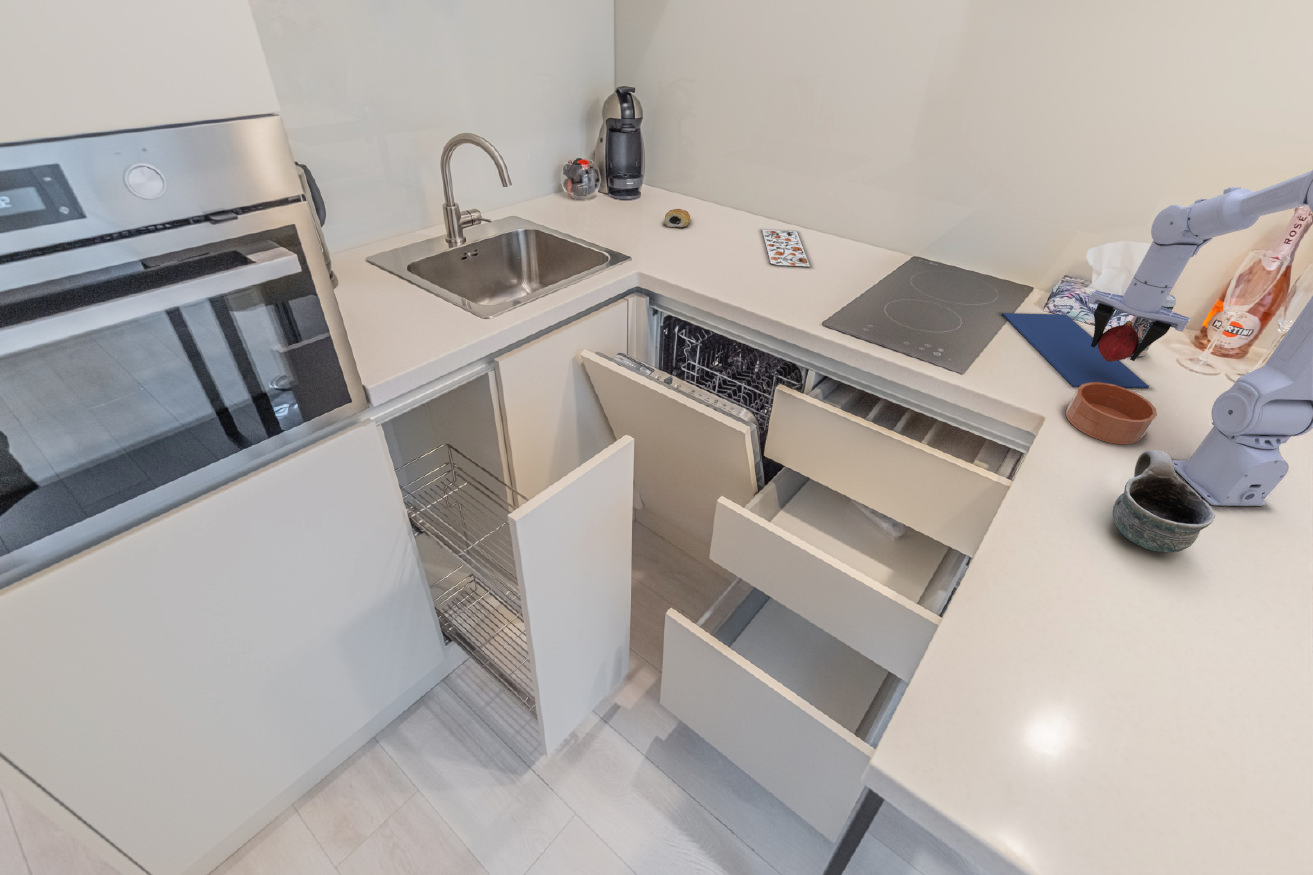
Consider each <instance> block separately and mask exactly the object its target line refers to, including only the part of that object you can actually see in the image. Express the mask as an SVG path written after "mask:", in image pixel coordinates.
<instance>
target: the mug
mask: <svg viewBox="0 0 1313 875" xmlns="http://www.w3.org/2000/svg"><path fill="white" fill-rule="evenodd" d="M1172 460H1173V459H1172V457H1171V456H1170V454H1168V453H1167V452H1165V451H1162V450H1157V449H1149V450H1146V451H1143V452H1142V453H1141V454H1140V455H1139V457H1138V458H1137V460H1136V463H1135V466H1134V472H1133V477H1132V478H1129V480H1127V481H1126V482H1125V485H1124V490H1123V492H1122V493H1121V494H1120V495H1119V496H1118V497H1117V499H1116V500H1115V502H1114V504H1113V507H1112V512H1111V514H1112V520H1113V523H1114V525H1115V526H1116V528H1117V530H1118V531H1119V532H1120V533H1121V535H1123V536H1124V537H1125V538H1126V539H1127V540H1128V541H1130V542H1132V543H1133V544H1135V545H1136V546H1138V547H1141V548H1142V549H1145V550H1148V551H1152V552H1157V553H1178V552H1182V551H1184V550H1186V549H1189V548H1190V547H1191V546H1192V545H1193V544H1194V543H1195V542H1196V540H1197V539H1198V538H1199V536H1200V532H1201V531H1202V530H1204V529H1206V528H1207V527H1209V526H1210V525H1211V524H1213V522H1214V521H1215V518H1216V513H1215V510H1214V509H1213V508H1212V506H1211V504H1210V503H1209V502H1208V501H1207V500H1204V499H1202V498H1201V495H1200V494H1199V493H1198V492H1197V491H1196V490H1195V489H1194V488H1193V487H1192V486H1191V485H1188V484H1187V483H1186V482H1185V481H1183V480H1182V479H1181V478H1179V477H1178V475H1177V473H1176V470H1175V469H1174V465H1173V461H1172Z"/></svg>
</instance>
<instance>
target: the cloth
mask: <svg viewBox="0 0 1313 875" xmlns="http://www.w3.org/2000/svg"><path fill="white" fill-rule="evenodd" d="M1002 316H1003V317H1004V319H1006V320H1007V322H1009V323H1010V324H1011V325H1012V326H1013V328H1014V329H1016V331H1018V333H1020V334H1021V335H1022V337H1023V338H1024V339H1025V340H1027V342H1028V343H1029V344H1030V345H1031V346H1032V347H1033V348H1034V349H1035V350H1036V351H1037V352H1038V353H1039V354H1040V355H1041V356H1042V357H1043V358H1044V359H1045V360H1046V361H1047V362H1048V363H1049V364H1050V365H1051V367H1053V368H1054V369H1055V370H1056V371H1057V372H1058V373H1059V374H1060V375H1061V376H1062V377H1063V378H1064V379H1065V380H1066V381H1067V383H1068V384H1070V385H1071V386H1072V388H1079V387H1080V386H1081V385H1082V384H1085V383H1090V382H1103V383H1108V384H1113V385H1117V386H1120V387H1123V388H1126V389H1149V388H1150V386H1149V384H1147V383H1146V382H1145V381H1143V379H1141V378H1140V377H1139V376H1138V375H1137V374H1136V373H1135V372H1134V371H1132V370H1131V369H1130V368H1129V367H1127V366H1126V365H1125V364H1124V363H1123V362H1122V361H1121V360H1119V361H1112V362H1108V361H1106V360H1105V359H1104V358H1103V357H1102V355H1101V354H1100V352H1099V349H1098V344H1097V345H1096V347H1095V348H1094V347H1091V344H1092V341H1093V336H1092V335H1090V334H1089V333H1088V332H1087V331H1086V329H1084V328H1082V327H1081V326H1080V324H1078V323H1076V322H1075V321H1074V320H1073V319H1072V318H1071V317H1070V316H1069V315H1067V314H1060V313H1059V314H1057V313H1054V314H1053V313H1017V312H1016V313H1015V312H1014V313H1013V312H1012V313H1011V312H1003V313H1002Z"/></svg>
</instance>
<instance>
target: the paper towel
mask: <svg viewBox="0 0 1313 875" xmlns="http://www.w3.org/2000/svg"><path fill="white" fill-rule="evenodd" d="M761 231H762V234H763V239H764V242H765V247H766V249H767V254H768V257H769V262H770V264H772V265H775V266H790V267H791V266H792V267H808V268H809V267H811V265H810V263H809V260H808V257H807V255H806V252H805V250H804V247H803V244H802V241H801V239H800V237H799V234H798V232H797V231H796V230H776V229H762V230H761Z"/></svg>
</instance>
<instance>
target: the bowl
mask: <svg viewBox="0 0 1313 875" xmlns="http://www.w3.org/2000/svg"><path fill="white" fill-rule="evenodd" d="M1065 416H1066V419H1067V420H1068V422H1069V423H1070V424H1071V425H1072V426H1073V427H1074V428H1075V429H1077V430H1078V431H1080V432H1082V433H1083V434H1085V435H1087V436H1089V437H1092V438H1093V439H1096V440H1098V441H1102V442H1106V443H1110V444H1115V445H1132V444H1135V443H1138V442H1139V441H1141V439H1142V438H1143V436H1145V434H1146V433H1147V431H1148V430H1149V428H1150V427H1151V425H1152V424H1153V422H1154V421H1155V419H1156V418H1157V416H1158V412H1157V408H1156V407H1155V406H1154V404H1153V403H1152V402H1151V401H1150V400H1148V399H1147V398H1145V396H1143V395H1141V394H1139V393H1137V392H1135V391H1133V390H1131V389H1130V388H1123V387H1120V386H1117V385H1113V384H1108V383H1103V382H1090V383H1085V384H1082V385H1081V386H1080V387H1077V388H1076V391H1075V392H1074V394H1073V396H1072V398H1071V400H1070V401H1069V403H1068V406H1067V408H1066V410H1065Z"/></svg>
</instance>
